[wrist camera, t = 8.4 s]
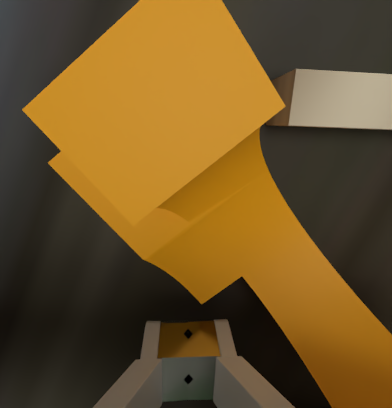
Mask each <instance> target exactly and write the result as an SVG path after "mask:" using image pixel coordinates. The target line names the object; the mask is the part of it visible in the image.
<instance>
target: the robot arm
mask: <svg viewBox="0 0 392 408" xmlns="http://www.w3.org/2000/svg"><path fill="white" fill-rule="evenodd" d="M180 400H213V402H214V403H215V405H216V406H217V408H295V407H294V406H293V405H292V404H291V403H290V402H289V401H288V400H287V399H285V398H284V397H283V396H282V395H281V394H280V393H279V392H278V391H277V390H276V389H275V388H274V387H273V386H272V385H271V384H270V383H269V382H268V381H267V380H266V379H265V378H264V377H263V376H262V375H261V374H260V373H258V372H257V371H256V370H255V369H254V368H253V367H252V366H251V365H250V364H249V363H248V362H247V361H246V360H245V359H244V358H243V357H242V356H237V353H236V349H235V345H234V342H233V338H232V334H231V330H230V326H229V323H228V320H227V319H218V320H193V321H147V322H146V325H145V331H144V337H143V344H142V350H141V356H140V359H138V360H135V361H134V362H133V363H132V364H131V365H130V366H129V368H128V369H127V370H126V371H125V372H124V373H123V374H122V375H121V376H120V378H119V379H118V380H117V381H116V382H115V383H114V384H113V385H112V387H111V388H110V389H109V390H108V391H107V392H106V393H105V394H104V395H103V397H102V398H101V399H100V400H99V401H98V402H97V403H96V404H95V406H94V407H93V408H160V407H161V405H162V402H168V401H180Z"/></svg>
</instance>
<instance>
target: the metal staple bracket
mask: <svg viewBox="0 0 392 408" xmlns="http://www.w3.org/2000/svg"><path fill="white" fill-rule="evenodd" d="M271 83H272V84H273V86H274V88H275V89H276V91H277V93H278V94H279V96H280V98H281V99H282V101H283V102H284V104H285V106H286V107H284V108H283V109H282V110H281V111H279V112H278V113H277V114H275V115H274V116H273V117H272V118H270V119H269V120H268V121H267V122H266V125H270V126H296V127H322V128H347V129H373V130H392V74H377V73H359V72H342V71H325V70H308V69H295V70H293V71H291V72H288V73H286V74H284V75H282V76H280V77H278V78H276V79H274V80H271Z"/></svg>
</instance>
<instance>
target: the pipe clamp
mask: <svg viewBox="0 0 392 408" xmlns="http://www.w3.org/2000/svg"><path fill="white" fill-rule="evenodd" d="M284 107H286V106H285V104H284V102H283V101H282V99H281V98H280V96H279V94H278V93H277V91H276V89H275V88H274V86H273V84H272V83H271V81H270V79H269V78H268V76H267V74H266V73H265V71H264V69H263V68H262V66H261V64H260V63H259V61H258V60H257V58H256V56H255V55H254V53H253V51H252V50H251V48H250V46H249V45H248V43H247V41H246V40H245V38H244V36H243V35H242V33H241V31H240V30H239V28H238V26H237V25H236V23H235V21H234V20H233V18H232V17H231V15H230V13H229V12H228V10H227V8H226V7H225V5H224V3H223V2H222V0H140V1H139V2H138V3H137V4H136V5H135V6H134V7H132V8H131V9H130V10H129V11H128V12H127V13H126V14H125V15H124V16H123V17H122V18H121V19H119V20H118V21H117V22H116V23H115V24H114V25H113V26H112V27H111V28H110V29H109V30H108V31H107V32H105V33H104V34H103V35H102V36H101V37H100V38H99V39H98V40H97V41H96V42H95V43H94V44H93V45H91V46H90V47H89V48H88V49H87V50H86V51H85V52H84V53H83V54H82V55H81V56H80V57H78V58H77V59H76V60H75V61H74V62H73V63H72V64H71V65H70V66H69V67H68V68H67V69H66V70H64V71H63V72H62V73H61V74H60V75H59V76H58V77H57V78H56V79H55V80H54V81H53V82H51V83H50V84H49V85H48V86H47V87H46V88H45V89H44V90H43V91H42V92H41V93H40V94H39V95H37V96H36V97H35V98H34V99H33V100H32V101H31V102H30V103H29V104H28V105H27V106H26V107H25V108H23V109H22V110H23V111H24V112H25V113H26V114H27V115H28V117H29V118H30V119H31V120H32V121H33V122H34V123H35V124H36V125H37V126H38V127H39V128H40V129H41V130H42V131H43V132H44V133H45V134H46V135H47V136H48V138H49V139H50V140H51V141H52V142H53V143H54V144H55V145H56V146H57V147H58V148H59V149H60V150H61V152H60V153H59V154H58V155H56V156H55V157H54V158H53V159H52V160H51V161H49V162H48V164H49V165H50V166H51V167H52V168H53V169H54V170H55V171H56V172H57V173H58V174H59V175H60V176H61V177H62V178H63V179H64V180H65V181H66V182H67V183H68V184H69V185H70V186H71V187H72V188H73V189H74V190H75V191H76V192H77V193H78V194H79V195H80V196H81V197H82V198H83V199H84V200H85V201H86V202H87V203H88V204H89V205H90V206H91V207H92V208H93V209H94V210H95V211H96V212H97V213H98V214H99V215H100V217H101V218H102V219H103V220H104V221H105V222H106V223H107V224H108V225H109V226H110V227H111V228H112V229H113V230H114V231H115V232H116V233H117V234H118V235H119V236H120V237H121V238H122V239H123V240H124V241H125V242H126V243H127V244H128V245H129V246H130V247H131V248H132V249H133V250H134V251H135V252H136V253H137V254H138V255H139V256H140V257H141V258H142V259H143V260H145V261H148V262H150V263H152V264H154V265H156V266H157V267H159V268H161V269H162V270H164V271H165V272H167V273H168V274H169V275H171V276H172V277H174V278H175V279H176V280H177V281H178V282H180V283H181V284H182V285H183V286H184V287H185V288H186V289H187V290H188V291H189V292H190V293H191V294H192V295H193V296H194V297H195V298H196V299H197V300H198V301H199V302H200V303H201V304H203V303H204V302H206V301H207V300H209V299H210V298H212V297H213V296H214V295H216V294H217V293H219V292H220V291H222V290H223V289H224V288H226V287H227V286H229V285H230V284H232V283H233V282H234V281H236V280H237V279H239V278H240V277H243V278H244V279H245V280H246V282H247V283H248V284H249V286H250V287H251V288H252V289H253V291H254V292H255V293H256V295H257V296H258V297H259V299H260V300H261V301H262V303H263V304H264V305H265V307H266V308H267V309H268V311H269V312H270V314H271V315H272V316H273V318H274V319H275V321H276V322H277V323H278V325H279V326H280V328H281V329H282V331H283V332H284V334H285V335H286V337H287V338H288V339H289V341H290V342H291V344H292V345H293V347H294V348H295V350H296V351H297V353H298V355H299V356H300V358H301V359H302V361H303V362H304V364H305V365H306V367H307V368H308V370H309V372H310V373H311V375H312V376H313V378H314V379H315V381H316V383H317V384H318V386H319V387H320V389H321V391H322V392H323V394H324V395H325V397H326V399H327V400H328V402H329V404H330V405H331V407H332V408H392V335H391V333H390V332H389V331H388V330H387V329H386V328H385V327H384V326H383V325H382V324H381V322H380V321H379V320H378V319H377V318H376V317H375V316H374V315H373V313H372V312H371V311H370V310H369V309H368V308H367V307H366V306H365V304H364V303H363V302H362V301H361V300H360V299H359V298H358V296H357V295H356V294H355V293H354V292H353V291H352V289H351V288H350V287H349V286H348V285H347V283H346V282H345V281H344V280H343V279H342V277H341V276H340V275H339V274H338V273H337V271H336V270H335V269H334V268H333V266H332V265H331V264H330V263H329V261H328V260H327V259H326V258H325V256H324V255H323V254H322V253H321V251H320V250H319V249H318V247H317V246H316V245H315V243H314V242H313V241H312V239H311V238H310V237H309V235H308V234H307V233H306V231H305V230H304V228H303V227H302V226H301V224H300V223H299V221H298V220H297V218H296V217H295V216H294V214H293V213H292V211H291V209H290V208H289V206H288V205H287V203H286V202H285V200H284V198H283V197H282V195H281V193H280V192H279V190H278V188H277V186H276V184H275V182H274V181H273V179H272V177H271V174H270V172H269V170H268V168H267V165H266V163H265V160H264V157H263V154H262V151H261V146H260V139H259V132H260V126H261V125H263V124H264V123H265V122H267V121H268V120H269V119H270V118H272V117H273V116H274V115H275V114H277V113H278V112H279V111H281V110H282V109H283V108H284Z"/></svg>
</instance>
